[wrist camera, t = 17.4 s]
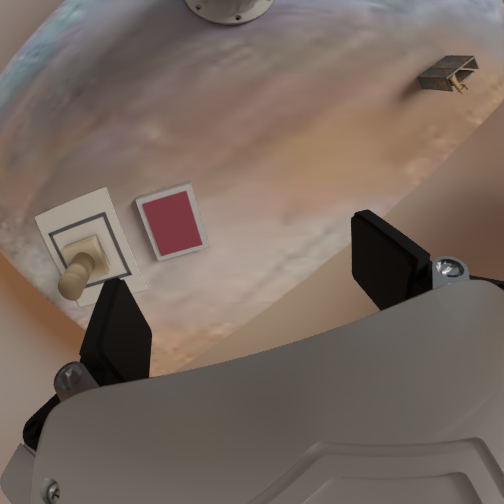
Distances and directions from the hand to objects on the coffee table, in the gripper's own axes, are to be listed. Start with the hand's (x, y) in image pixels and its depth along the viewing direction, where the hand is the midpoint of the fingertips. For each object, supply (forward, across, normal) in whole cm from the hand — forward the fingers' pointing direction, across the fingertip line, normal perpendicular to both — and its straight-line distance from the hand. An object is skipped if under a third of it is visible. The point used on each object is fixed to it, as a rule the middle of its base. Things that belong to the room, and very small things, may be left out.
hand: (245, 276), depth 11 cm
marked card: (+30, +22, +9) cm, 39 cm away
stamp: (+30, +22, +9) cm, 38 cm away
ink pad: (+30, +7, +8) cm, 32 cm away
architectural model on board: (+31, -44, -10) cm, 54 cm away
